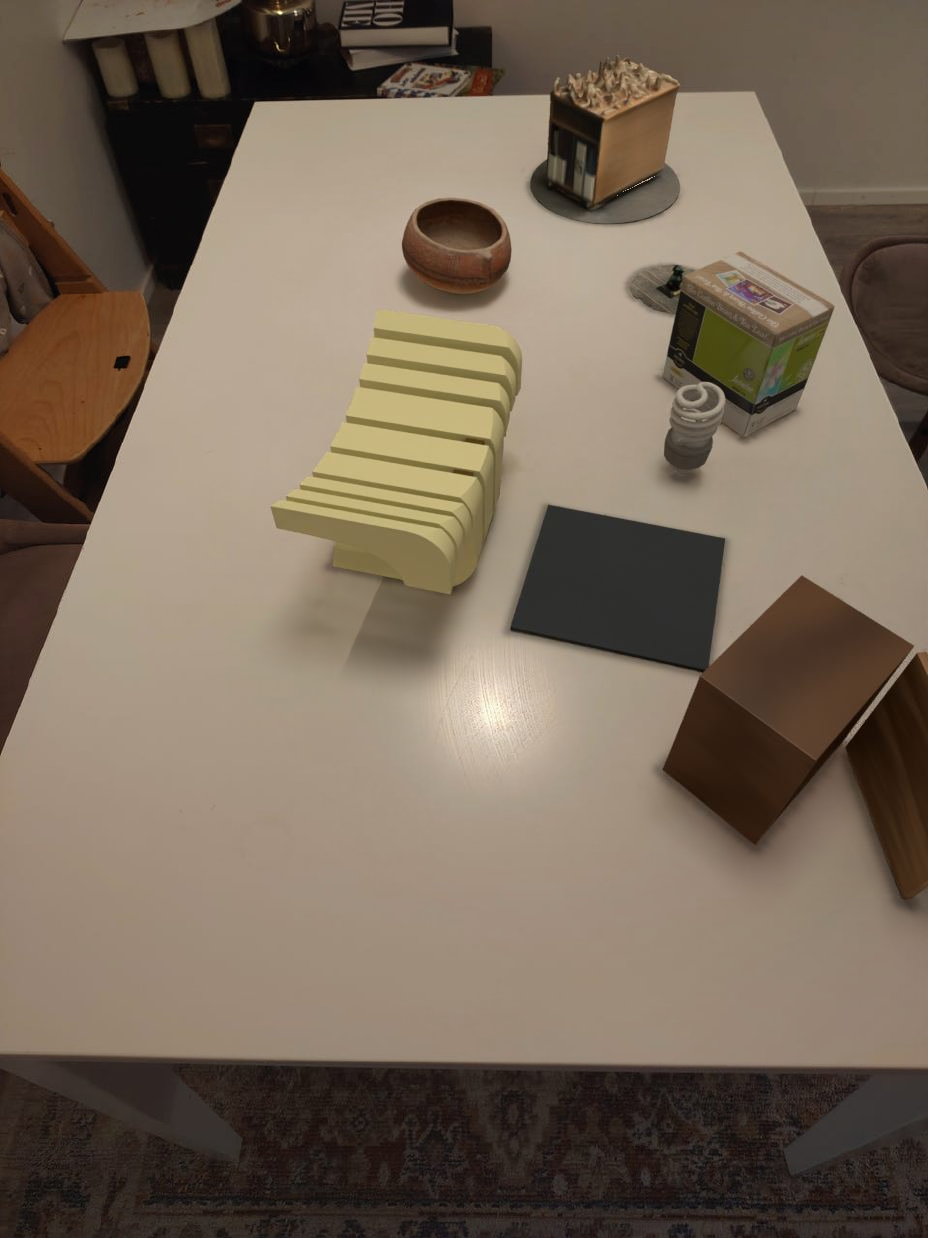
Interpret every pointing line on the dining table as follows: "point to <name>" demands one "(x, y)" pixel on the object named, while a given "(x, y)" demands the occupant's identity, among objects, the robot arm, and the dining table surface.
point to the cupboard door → (898, 774)
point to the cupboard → (780, 705)
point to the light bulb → (693, 426)
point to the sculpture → (660, 286)
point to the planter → (609, 145)
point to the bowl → (457, 245)
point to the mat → (623, 587)
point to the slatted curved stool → (415, 453)
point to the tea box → (746, 339)
